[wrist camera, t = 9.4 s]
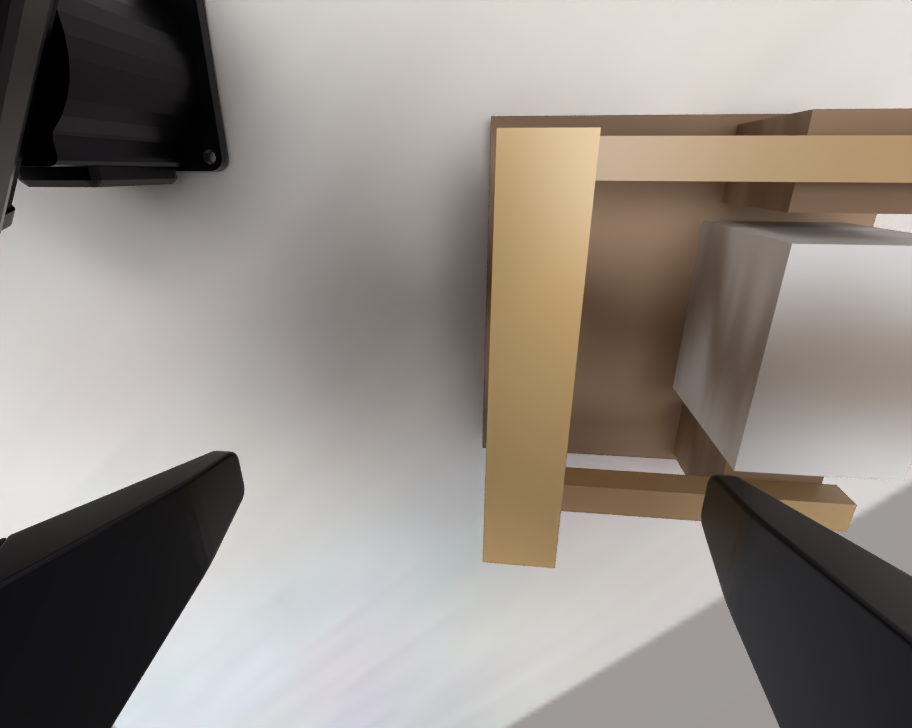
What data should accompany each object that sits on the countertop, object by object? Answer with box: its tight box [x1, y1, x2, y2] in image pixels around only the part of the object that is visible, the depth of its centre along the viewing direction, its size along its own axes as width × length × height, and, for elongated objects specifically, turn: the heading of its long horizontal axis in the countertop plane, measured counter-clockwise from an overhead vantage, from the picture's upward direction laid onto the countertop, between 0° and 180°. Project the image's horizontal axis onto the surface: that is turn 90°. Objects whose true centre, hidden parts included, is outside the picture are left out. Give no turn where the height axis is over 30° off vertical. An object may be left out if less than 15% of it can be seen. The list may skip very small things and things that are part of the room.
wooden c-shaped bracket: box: [483, 127, 912, 568], centre depth 13 cm, size 11×11×4 cm
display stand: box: [483, 109, 912, 484], centre depth 16 cm, size 13×13×7 cm
